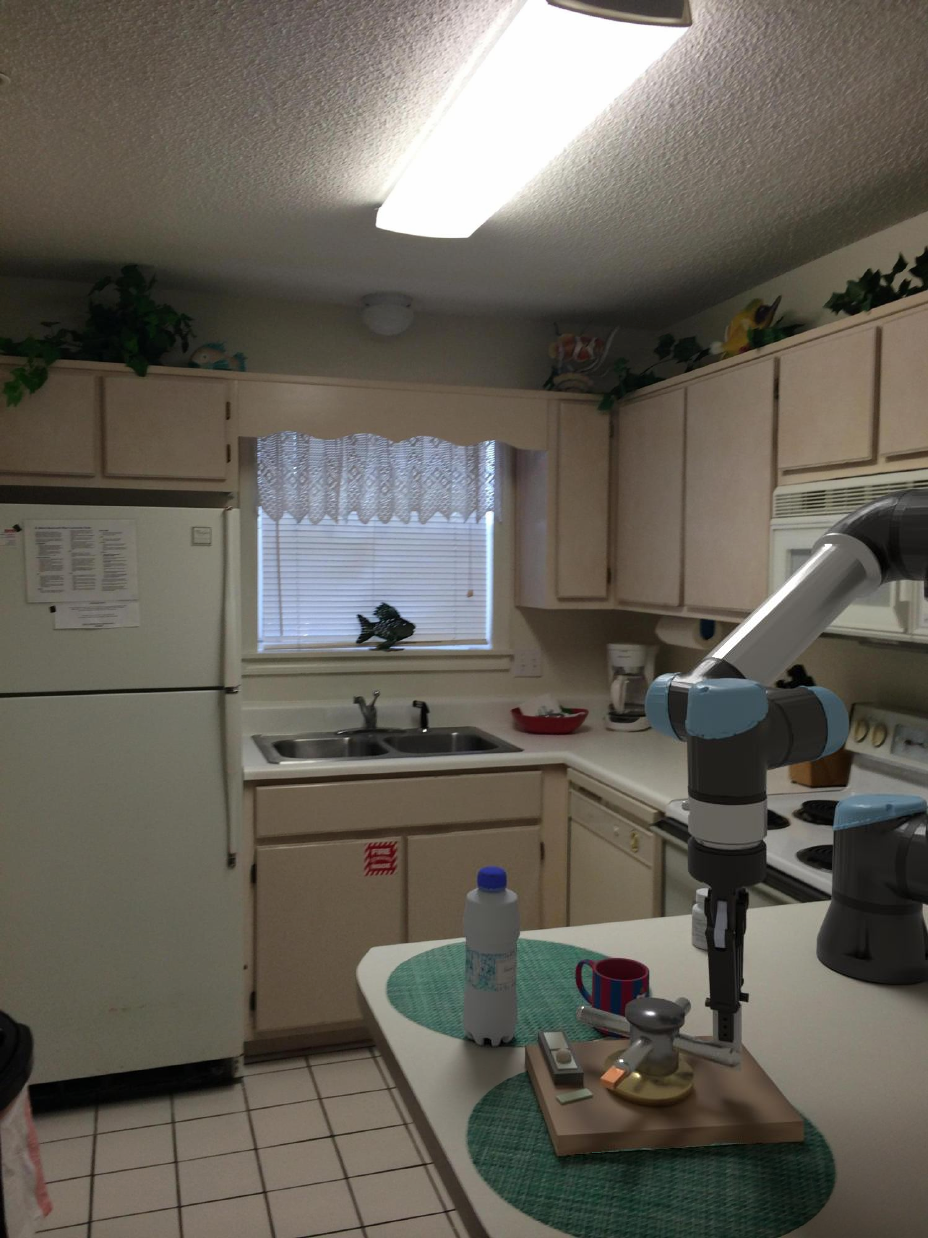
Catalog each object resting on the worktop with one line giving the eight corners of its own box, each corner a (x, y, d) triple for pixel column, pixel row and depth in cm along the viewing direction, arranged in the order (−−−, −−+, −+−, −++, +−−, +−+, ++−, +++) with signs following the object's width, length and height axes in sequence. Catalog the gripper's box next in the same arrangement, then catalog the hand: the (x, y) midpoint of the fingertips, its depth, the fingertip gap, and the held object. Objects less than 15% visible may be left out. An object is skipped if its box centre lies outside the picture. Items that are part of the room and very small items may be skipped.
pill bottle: (715, 938, 144) (717, 886, 143) (727, 950, 139) (729, 896, 139) (686, 939, 143) (688, 887, 143) (698, 951, 139) (699, 898, 138)
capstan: (765, 1063, 104) (767, 1000, 103) (698, 1161, 87) (700, 1086, 86) (611, 1018, 113) (612, 961, 113) (523, 1098, 97) (524, 1031, 96)
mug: (620, 1044, 112) (621, 986, 112) (560, 1011, 120) (561, 957, 120) (660, 1028, 116) (661, 971, 116) (600, 997, 124) (601, 944, 124)
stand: (732, 1049, 111) (734, 1011, 111) (803, 1141, 94) (805, 1096, 94) (524, 1060, 108) (524, 1021, 108) (557, 1156, 91) (557, 1110, 91)
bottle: (500, 1057, 109) (503, 880, 108) (449, 1041, 112) (451, 869, 111) (529, 1033, 115) (532, 865, 113) (480, 1018, 118) (482, 854, 117)
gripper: (697, 816, 104) (698, 1030, 106) (677, 854, 92) (679, 1094, 94) (771, 822, 101) (771, 1042, 103) (761, 862, 89) (760, 1109, 91)
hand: (727, 1066), depth 98 cm, fingers closed
